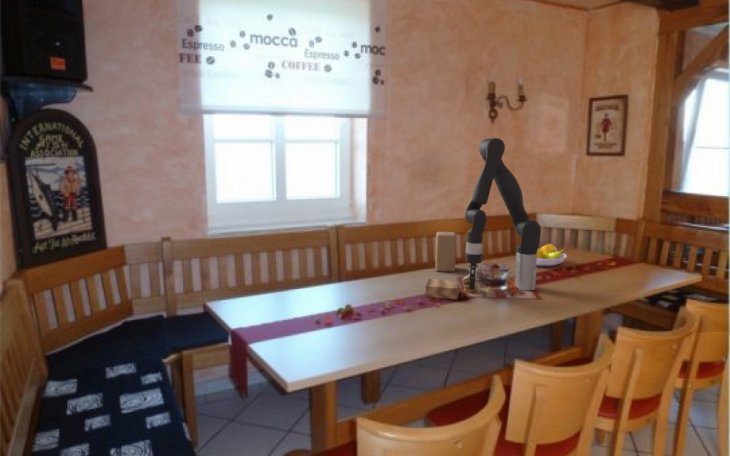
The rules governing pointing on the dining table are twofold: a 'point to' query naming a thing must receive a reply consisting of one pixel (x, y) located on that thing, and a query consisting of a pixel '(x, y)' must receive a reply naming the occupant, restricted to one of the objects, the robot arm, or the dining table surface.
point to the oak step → (442, 289)
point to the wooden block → (445, 251)
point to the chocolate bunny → (467, 284)
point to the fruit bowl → (549, 256)
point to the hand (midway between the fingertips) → (472, 287)
